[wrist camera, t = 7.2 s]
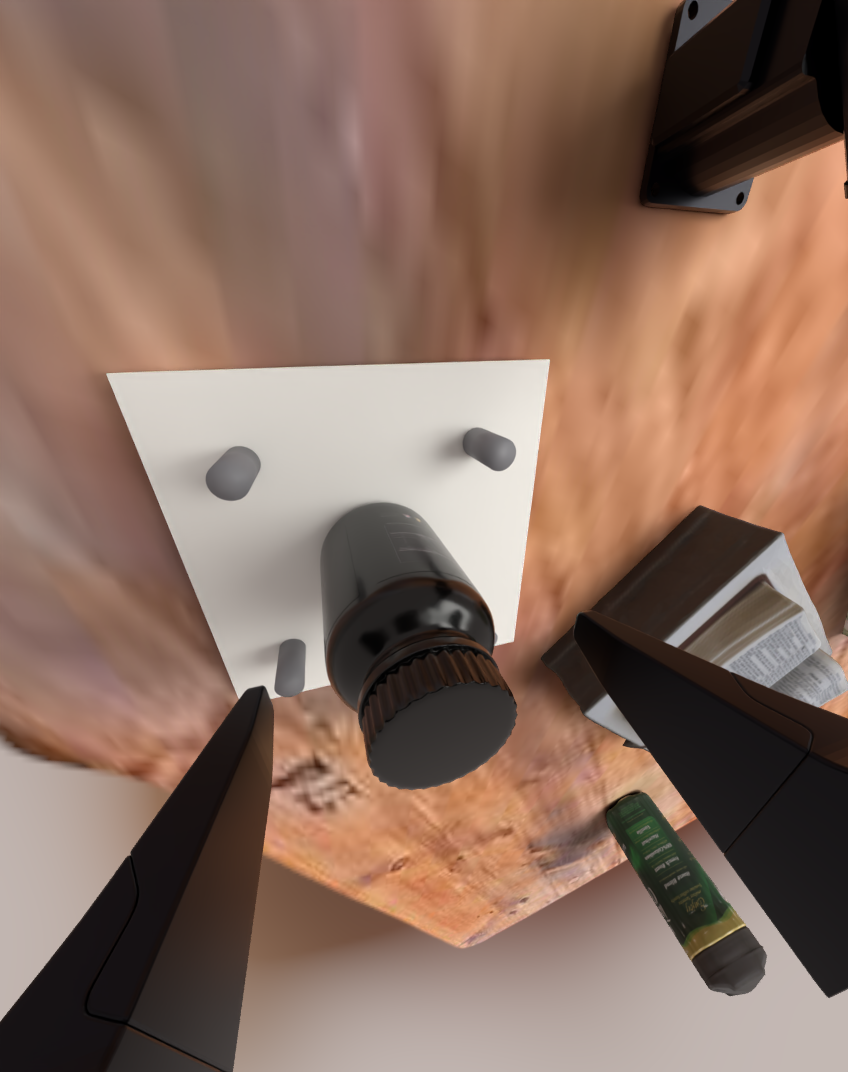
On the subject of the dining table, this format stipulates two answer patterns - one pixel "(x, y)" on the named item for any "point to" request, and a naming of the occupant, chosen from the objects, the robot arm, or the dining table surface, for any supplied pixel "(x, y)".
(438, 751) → the supplement bottle
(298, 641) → the peg board
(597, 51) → the dining table surface
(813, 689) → the bible
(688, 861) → the coffee jar
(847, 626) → the grocery bag
